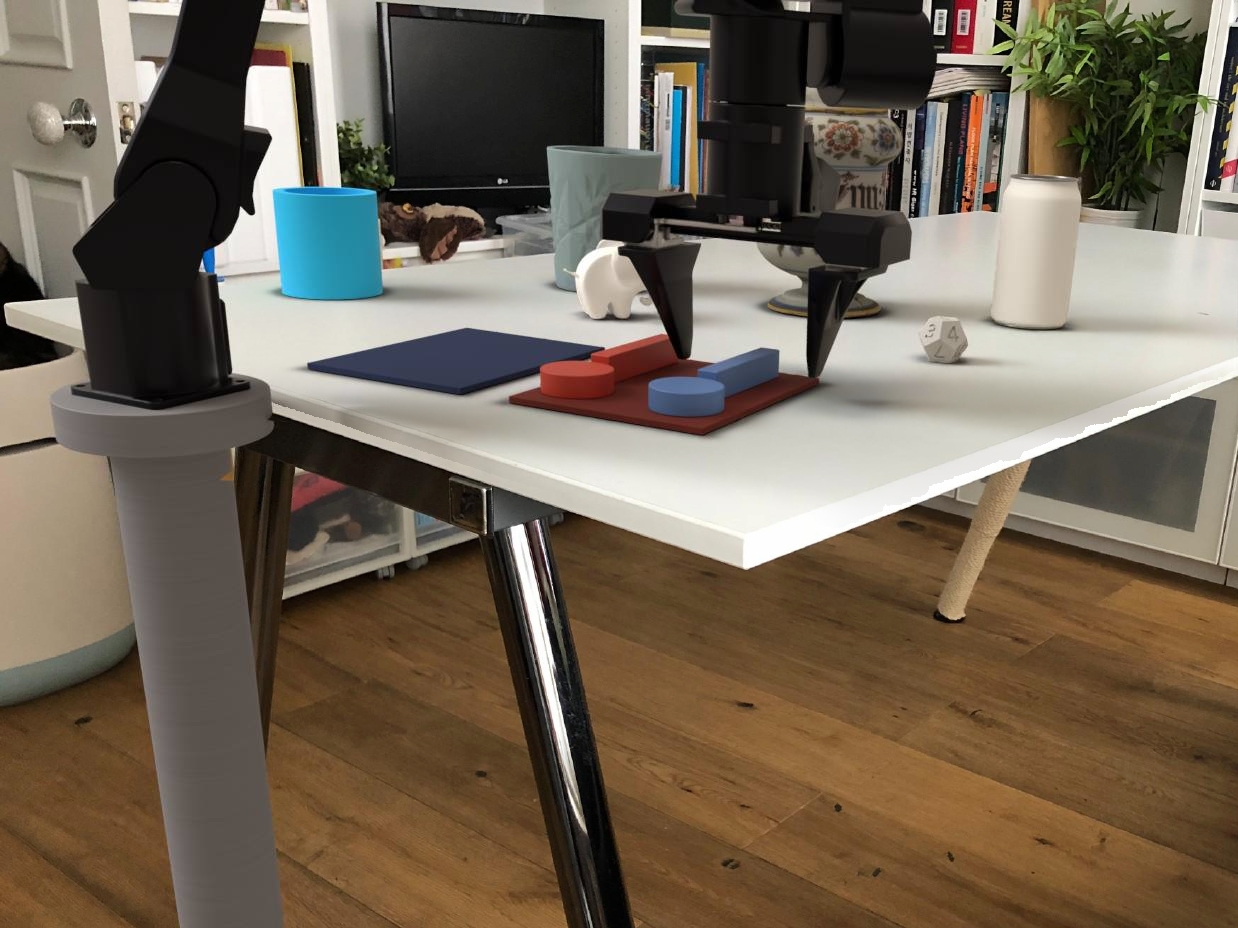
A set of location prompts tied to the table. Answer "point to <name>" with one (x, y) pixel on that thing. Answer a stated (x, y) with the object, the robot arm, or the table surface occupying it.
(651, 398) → the blue spoon
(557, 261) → the green plant pot
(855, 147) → the apothecary jar
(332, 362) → the blue mat
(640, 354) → the red spoon
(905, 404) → the table surface
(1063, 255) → the can
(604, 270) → the elephant figurine
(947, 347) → the game die
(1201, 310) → the table surface
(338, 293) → the mug
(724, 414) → the red mat
